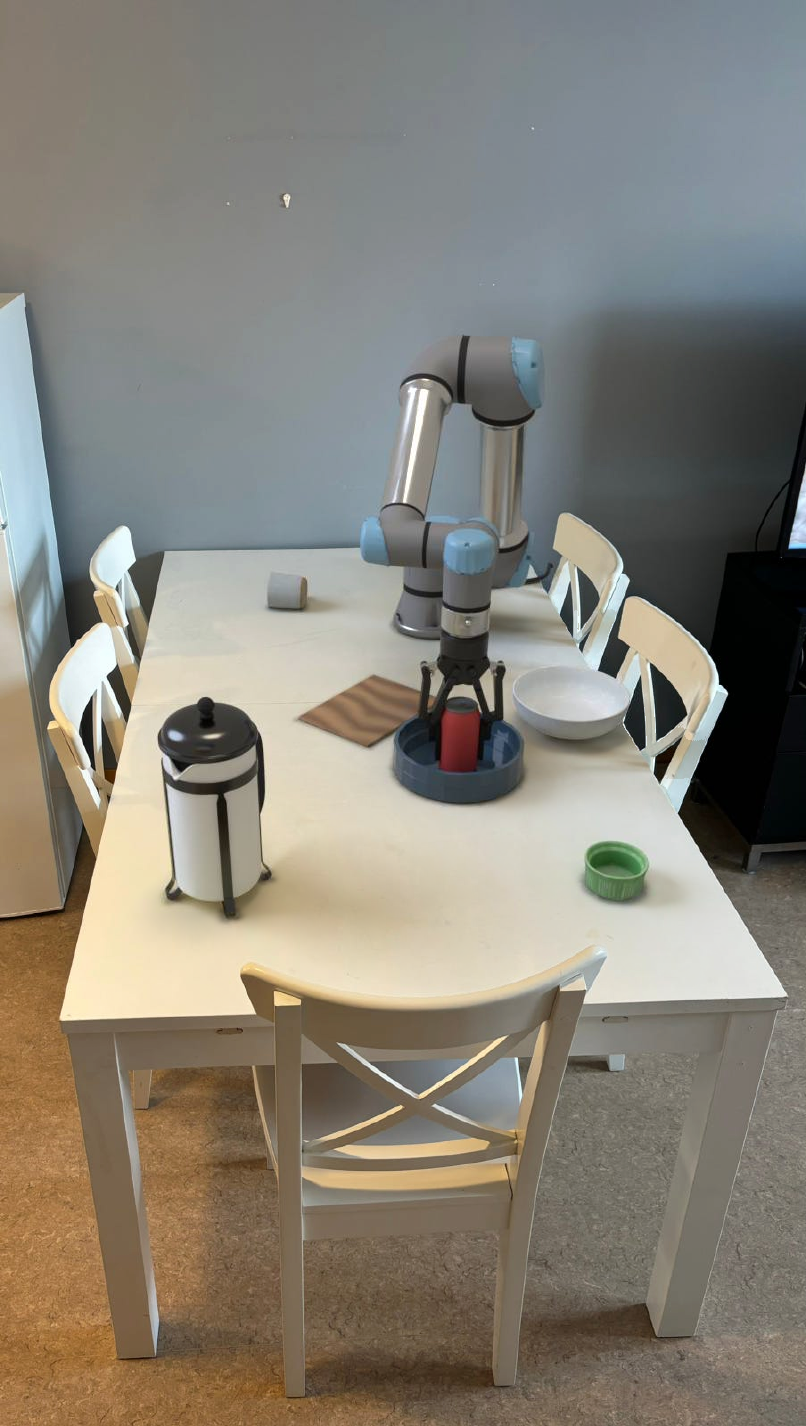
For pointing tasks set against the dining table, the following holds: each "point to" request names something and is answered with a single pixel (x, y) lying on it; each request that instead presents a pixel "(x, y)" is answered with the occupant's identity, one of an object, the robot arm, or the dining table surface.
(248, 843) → the coffee press
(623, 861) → the ramekin
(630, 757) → the dining table surface
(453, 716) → the beer can
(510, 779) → the blue bowl
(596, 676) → the serving bowl
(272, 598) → the grey cylinder
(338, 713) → the wooden cutting board
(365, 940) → the dining table surface
